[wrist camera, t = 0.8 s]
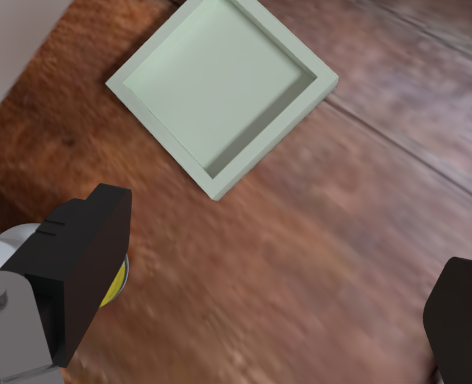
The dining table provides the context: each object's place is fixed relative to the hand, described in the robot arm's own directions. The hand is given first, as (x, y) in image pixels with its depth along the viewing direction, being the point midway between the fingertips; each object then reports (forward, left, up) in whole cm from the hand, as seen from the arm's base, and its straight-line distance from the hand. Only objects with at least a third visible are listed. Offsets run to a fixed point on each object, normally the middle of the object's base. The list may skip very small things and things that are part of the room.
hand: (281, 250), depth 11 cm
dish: (-4, -13, -22) cm, 25 cm away
